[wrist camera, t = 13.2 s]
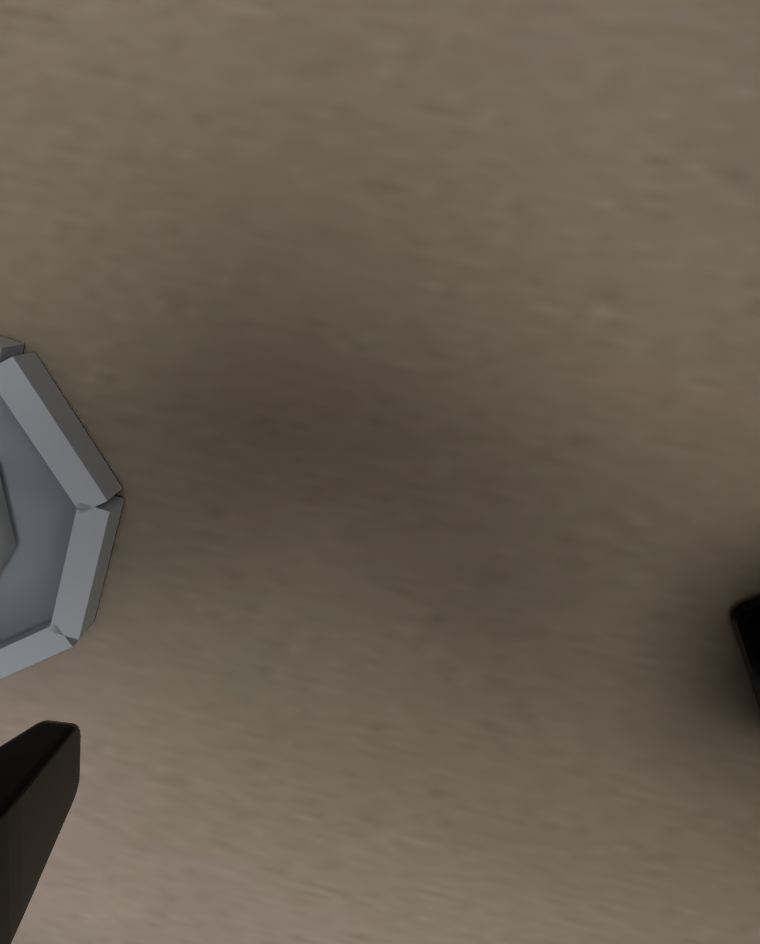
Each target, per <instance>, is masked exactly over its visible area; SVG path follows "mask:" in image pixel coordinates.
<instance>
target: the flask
mask: <svg viewBox="0 0 760 944" xmlns="http://www.w3.org/2000/svg"><path fill="white" fill-rule="evenodd" d="M15 547H16V543H15V539H14V534H13V530H12V525H11V521H10V517H9V512H8V508H7V504H6V499H5V495H4V491H3V486H2V482H1V478H0V573H1V571H2V570H3V568H4V566H5V564H6V563H7V561H8V559H9V558H10V556H11V554H12V552H13V551H14V549H15Z"/></svg>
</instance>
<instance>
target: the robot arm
mask: <svg viewBox="0 0 760 944" xmlns="http://www.w3.org/2000/svg"><path fill="white" fill-rule="evenodd" d="M749 615H751V617H750V618H749V619H748V620H746V621H744V620H745V619H746V617H747V616H749ZM731 620H732V623H733V627H734V630H735V633H736V636H737V639H738V642H739V645H740V648H741V651H742V655H743V658H744V661H745V664H746V667H747V670H748V673H749V676H750V679H751V682H752V686H753V689H754V692H755V695H756V698H757V701H758V704H759V707H760V597H757V598H755V599H752V600H750V601H747V602H745V603H742V604H740V605H738V606H737V607H736V608H735V609H734V610H733V612H732V614H731ZM80 737H81V736H80V729H79V727H78V726H77V725H75V724H73V723H65V722H57V721H49V720H48V721H42V722H39V723H37V724H36V725H34V726H32V727H31V728H29V729H28V730H26V731H24V732H23V733H21V734H19V735H18V736H16V737H15V738H13V739H11V740H10V741H8V742H7V743H5V744H3V745H2V746H0V944H11V942H12V940H13V938H14V935H15V933H16V931H17V929H18V927H19V924H20V922H21V920H22V918H23V916H24V913H25V911H26V909H27V906H28V904H29V902H30V899H31V897H32V895H33V893H34V890H35V888H36V886H37V883H38V881H39V879H40V876H41V874H42V872H43V870H44V867H45V865H46V863H47V860H48V858H49V856H50V853H51V851H52V849H53V847H54V844H55V842H56V840H57V837H58V835H59V833H60V830H61V828H62V826H63V823H64V821H65V819H66V817H67V814H68V812H69V810H70V807H71V805H72V803H73V800H74V798H75V795H76V792H77V788H78V784H79V777H80Z"/></svg>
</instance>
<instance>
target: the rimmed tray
mask: <svg viewBox="0 0 760 944" xmlns="http://www.w3.org/2000/svg"><path fill="white" fill-rule="evenodd" d="M23 349H24V343H21V342H18V341H15V340H12V339H9V338H6V337H3V336H0V478H1V482H2V486H3V491H4V495H5V499H6V504H7V508H8V512H9V517H10V521H11V525H12V530H13V534H14V539H15V543H16V547H15V549H14V551H13V552H12V554H11V556H10V558H9V559H8V561H7V563H6V564H5V566H4V568H3V570H2V571H1V573H0V679H1V678H4V677H6V676H8V675H10V674H13V673H15V672H17V671H19V670H22V669H24V668H26V667H28V666H31V665H33V664H35V663H37V662H40V661H42V660H44V659H46V658H49V657H51V656H53V655H55V654H58V653H60V652H62V651H65V650H67V649H69V648H71V647H73V646H74V645H75V643H76V642H77V641H78V640H79V639H80V638H81V637H82V635H83V634H84V633H85V632H86V630H87V629H88V628H89V627H90V626H91V624H92V623H93V622H94V620H95V616H96V612H97V608H98V604H99V600H100V596H101V592H102V588H103V584H104V580H105V576H106V572H107V568H108V564H109V560H110V556H111V552H112V548H113V543H114V539H115V535H116V531H117V527H118V523H119V519H120V515H121V511H122V507H123V503H124V498H121V497H117V496H114V495H115V494H116V493H118V492H119V491H120V490H121V489H122V487H121V485H120V484H119V482H118V480H117V479H116V477H115V476H114V474H113V473H112V471H111V470H110V468H109V466H108V465H107V463H106V462H105V460H104V459H103V457H102V456H101V454H100V452H99V451H98V449H97V448H96V446H95V445H94V443H93V442H92V440H91V438H90V437H89V435H88V434H87V432H86V431H85V429H84V428H83V426H82V424H81V423H80V421H79V420H78V418H77V417H76V415H75V414H74V412H73V410H72V409H71V407H70V406H69V404H68V403H67V401H66V400H65V398H64V396H63V395H62V393H61V392H60V390H59V389H58V387H57V386H56V384H55V382H54V381H53V379H52V378H51V376H50V375H49V373H48V372H47V370H46V368H45V367H44V365H43V364H42V362H41V361H40V359H39V358H38V356H37V354H36V353H35V352H32V353H27V354H23Z"/></svg>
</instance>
